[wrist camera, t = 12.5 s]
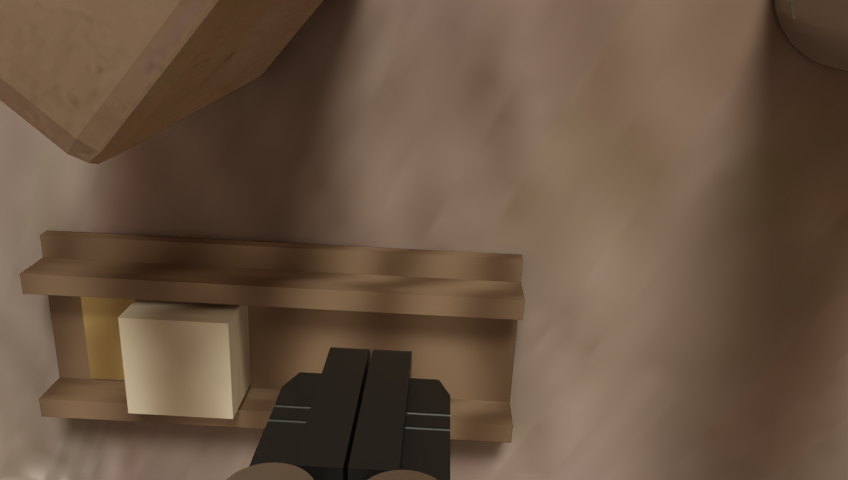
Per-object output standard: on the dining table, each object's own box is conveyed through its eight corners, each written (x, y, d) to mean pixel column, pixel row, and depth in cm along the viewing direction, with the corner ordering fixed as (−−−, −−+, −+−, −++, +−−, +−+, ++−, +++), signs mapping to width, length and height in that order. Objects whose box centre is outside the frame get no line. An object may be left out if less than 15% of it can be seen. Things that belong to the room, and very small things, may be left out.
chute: (521, 255, 44) (527, 276, 41) (505, 430, 48) (509, 462, 45) (46, 230, 44) (16, 250, 41) (70, 406, 48) (44, 436, 45)
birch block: (247, 293, 44) (228, 323, 40) (251, 382, 46) (233, 418, 42) (146, 288, 44) (117, 317, 41) (154, 377, 46) (128, 413, 43)
